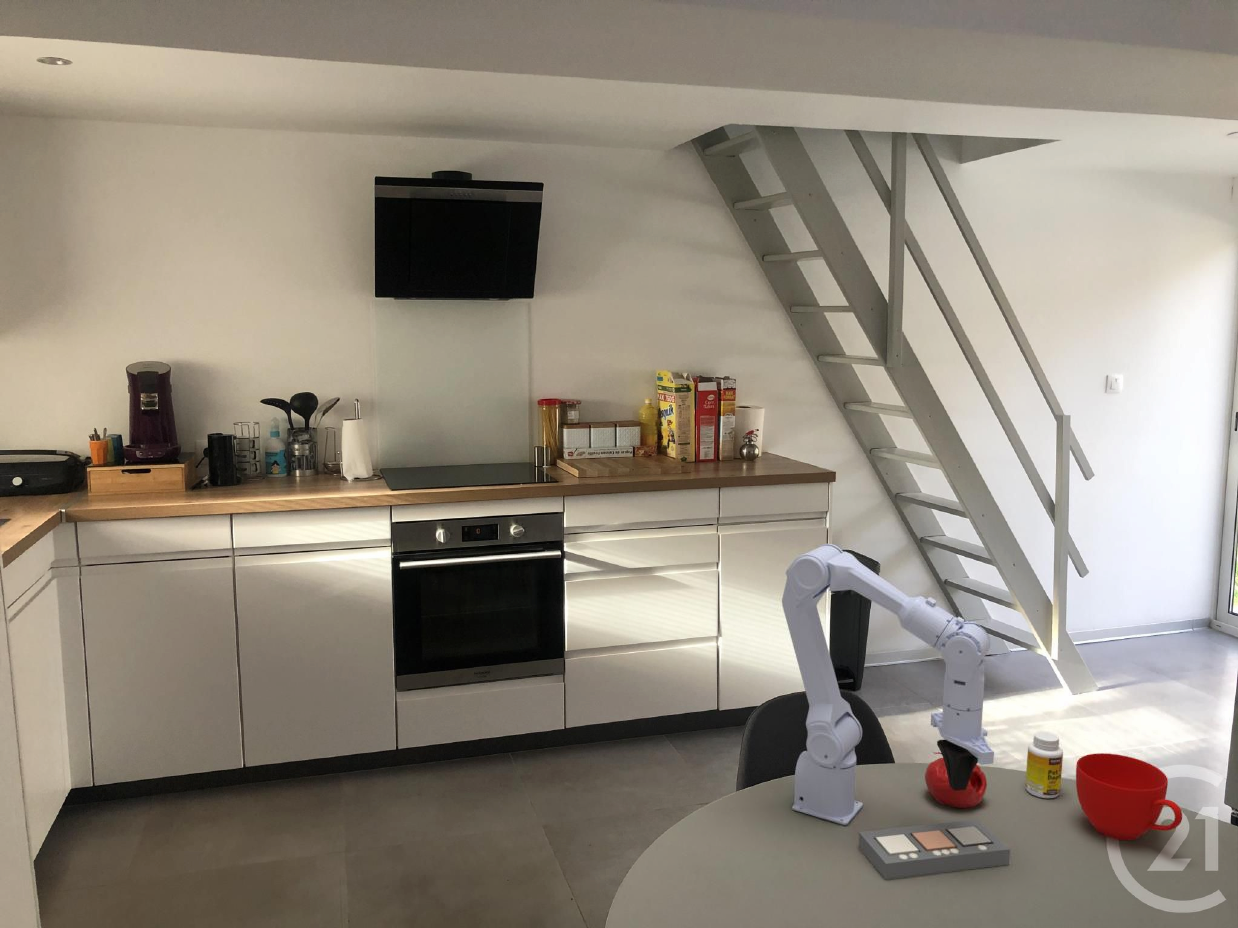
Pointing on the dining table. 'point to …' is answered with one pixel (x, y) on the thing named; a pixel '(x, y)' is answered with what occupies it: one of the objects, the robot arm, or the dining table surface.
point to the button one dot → (969, 836)
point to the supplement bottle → (1044, 765)
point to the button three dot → (933, 840)
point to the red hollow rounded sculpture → (945, 794)
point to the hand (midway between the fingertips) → (958, 788)
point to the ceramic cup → (1122, 795)
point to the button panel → (933, 852)
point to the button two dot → (896, 845)
